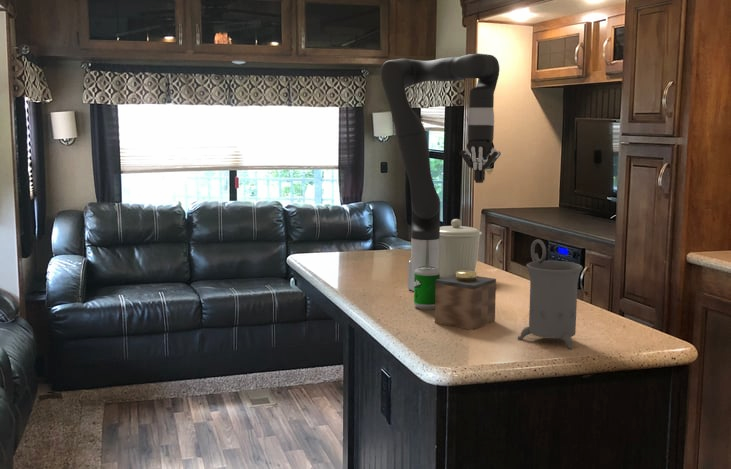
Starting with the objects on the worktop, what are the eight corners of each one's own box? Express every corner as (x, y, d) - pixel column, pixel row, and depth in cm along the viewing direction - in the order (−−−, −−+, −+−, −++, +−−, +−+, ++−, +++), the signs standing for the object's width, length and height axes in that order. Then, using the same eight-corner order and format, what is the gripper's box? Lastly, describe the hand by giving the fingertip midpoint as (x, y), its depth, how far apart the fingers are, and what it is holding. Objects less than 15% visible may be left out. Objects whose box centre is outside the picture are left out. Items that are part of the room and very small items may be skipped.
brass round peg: (451, 315, 216) (452, 272, 214) (461, 311, 220) (462, 269, 219) (468, 318, 213) (469, 274, 211) (479, 314, 217) (480, 271, 215)
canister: (422, 280, 274) (423, 220, 271) (437, 271, 290) (439, 215, 287) (473, 284, 267) (475, 223, 264) (485, 275, 284) (487, 217, 281)
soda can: (441, 305, 236) (442, 266, 235) (435, 311, 229) (436, 270, 228) (417, 303, 239) (418, 264, 237) (410, 309, 232) (411, 269, 230)
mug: (596, 346, 194) (601, 246, 190) (546, 352, 188) (550, 250, 185) (552, 328, 211) (556, 236, 207) (504, 333, 206) (507, 239, 202)
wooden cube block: (434, 322, 216) (435, 279, 214) (457, 314, 225) (458, 273, 224) (472, 330, 209) (474, 285, 207) (494, 321, 218) (496, 278, 216)
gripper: (454, 123, 231) (453, 182, 233) (494, 123, 223) (493, 184, 225) (467, 123, 237) (466, 181, 239) (507, 123, 229) (505, 183, 231)
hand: (479, 182), depth 232 cm, fingers closed
